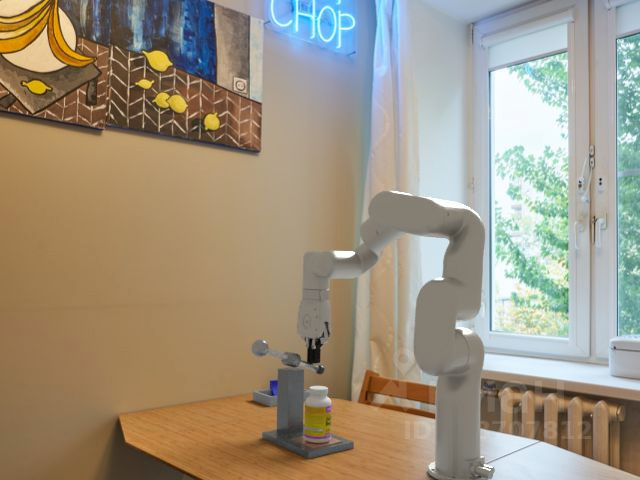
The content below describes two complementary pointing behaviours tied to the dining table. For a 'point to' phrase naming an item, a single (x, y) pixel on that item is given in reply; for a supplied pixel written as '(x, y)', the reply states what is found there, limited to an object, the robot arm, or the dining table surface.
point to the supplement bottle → (318, 415)
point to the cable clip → (274, 387)
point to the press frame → (298, 419)
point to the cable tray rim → (271, 397)
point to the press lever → (284, 357)
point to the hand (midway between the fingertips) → (313, 362)
